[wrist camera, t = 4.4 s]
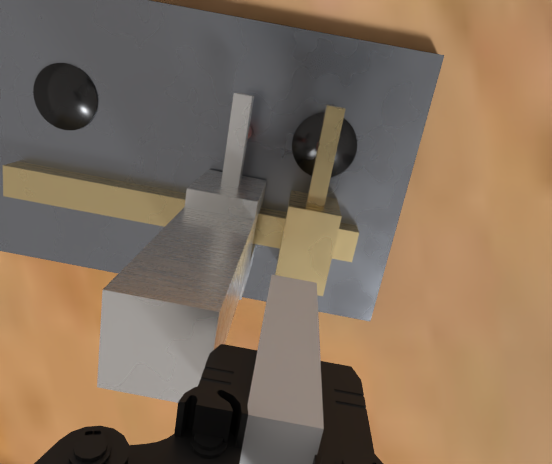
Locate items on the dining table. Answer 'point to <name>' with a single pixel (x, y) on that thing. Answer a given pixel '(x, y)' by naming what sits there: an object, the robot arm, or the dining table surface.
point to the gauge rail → (167, 204)
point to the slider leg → (184, 281)
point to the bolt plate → (203, 124)
